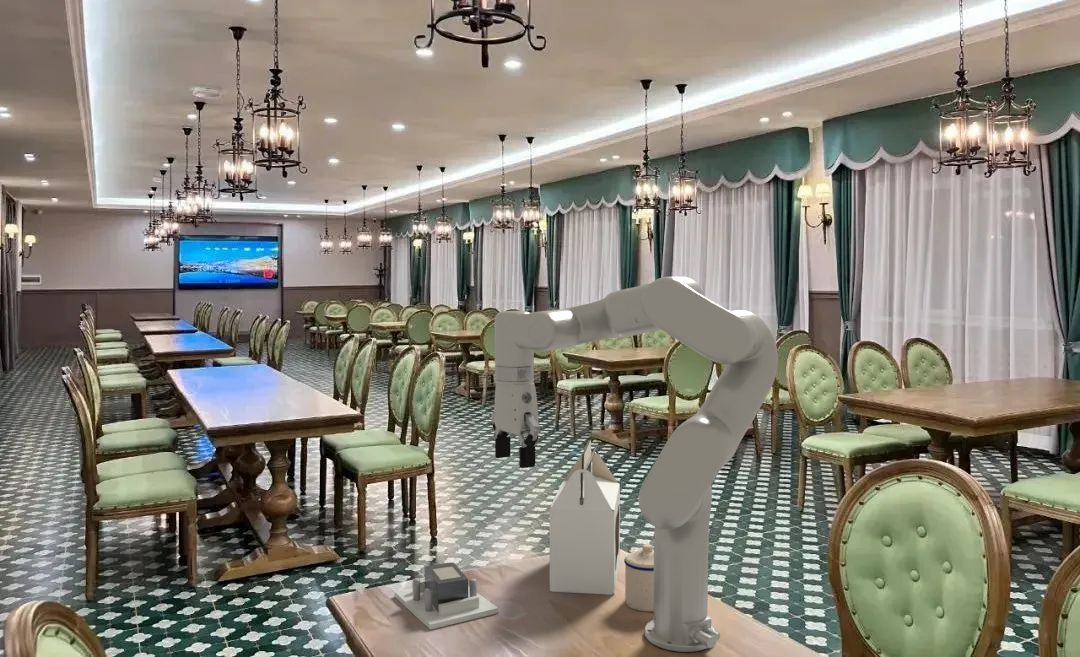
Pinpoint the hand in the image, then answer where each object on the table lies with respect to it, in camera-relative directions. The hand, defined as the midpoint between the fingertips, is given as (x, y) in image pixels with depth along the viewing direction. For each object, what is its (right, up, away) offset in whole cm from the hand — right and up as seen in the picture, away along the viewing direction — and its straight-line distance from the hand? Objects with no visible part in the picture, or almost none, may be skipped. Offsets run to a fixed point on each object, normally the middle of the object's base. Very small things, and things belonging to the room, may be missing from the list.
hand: (514, 462), depth 156 cm
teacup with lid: (+26, -28, +3) cm, 39 cm away
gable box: (+15, -28, +18) cm, 36 cm away
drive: (-14, -27, +1) cm, 31 cm away
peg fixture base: (-14, -28, +2) cm, 32 cm away
